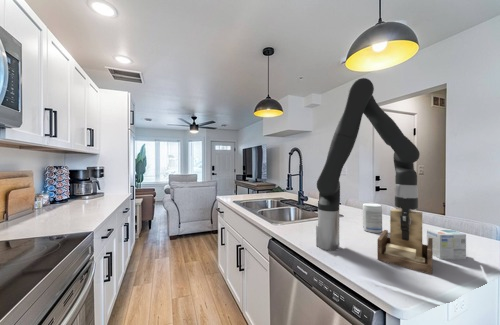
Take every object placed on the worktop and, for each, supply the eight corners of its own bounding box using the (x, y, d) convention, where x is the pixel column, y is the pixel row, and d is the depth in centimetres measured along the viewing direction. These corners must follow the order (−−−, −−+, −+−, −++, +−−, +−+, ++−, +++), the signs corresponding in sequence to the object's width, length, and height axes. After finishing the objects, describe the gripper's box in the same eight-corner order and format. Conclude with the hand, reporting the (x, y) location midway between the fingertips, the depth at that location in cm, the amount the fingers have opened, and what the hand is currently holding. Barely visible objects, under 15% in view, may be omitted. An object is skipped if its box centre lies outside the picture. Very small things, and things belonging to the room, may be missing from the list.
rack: (377, 262, 82) (377, 239, 82) (384, 250, 93) (384, 229, 93) (432, 277, 71) (432, 250, 71) (432, 261, 82) (432, 238, 82)
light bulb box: (450, 254, 89) (450, 228, 89) (467, 261, 82) (467, 234, 82) (425, 254, 88) (425, 228, 88) (440, 262, 82) (440, 234, 82)
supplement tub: (386, 232, 116) (386, 205, 116) (372, 234, 113) (371, 206, 113) (372, 227, 125) (372, 202, 125) (358, 228, 123) (358, 203, 123)
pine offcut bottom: (384, 259, 81) (384, 252, 81) (385, 256, 84) (385, 249, 84) (424, 270, 74) (424, 261, 74) (424, 266, 76) (424, 258, 76)
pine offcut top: (385, 252, 81) (385, 246, 81) (387, 249, 84) (387, 243, 84) (415, 259, 75) (415, 252, 75) (416, 256, 78) (416, 249, 78)
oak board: (390, 254, 86) (390, 210, 86) (392, 251, 90) (392, 208, 90) (421, 262, 80) (421, 214, 80) (422, 258, 83) (422, 212, 83)
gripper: (397, 192, 92) (397, 231, 92) (392, 197, 82) (392, 241, 82) (419, 194, 87) (419, 235, 87) (416, 199, 77) (416, 246, 77)
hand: (406, 238), depth 85 cm, fingers closed on oak board, 4 cm apart
